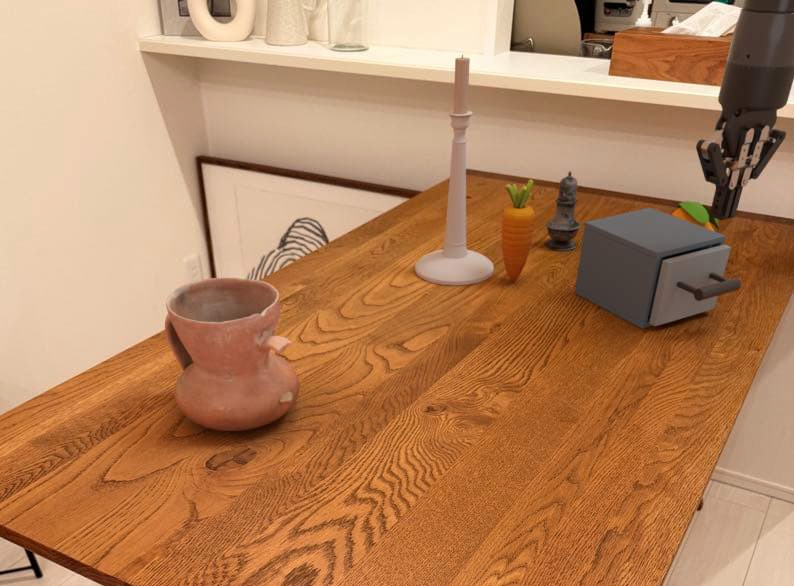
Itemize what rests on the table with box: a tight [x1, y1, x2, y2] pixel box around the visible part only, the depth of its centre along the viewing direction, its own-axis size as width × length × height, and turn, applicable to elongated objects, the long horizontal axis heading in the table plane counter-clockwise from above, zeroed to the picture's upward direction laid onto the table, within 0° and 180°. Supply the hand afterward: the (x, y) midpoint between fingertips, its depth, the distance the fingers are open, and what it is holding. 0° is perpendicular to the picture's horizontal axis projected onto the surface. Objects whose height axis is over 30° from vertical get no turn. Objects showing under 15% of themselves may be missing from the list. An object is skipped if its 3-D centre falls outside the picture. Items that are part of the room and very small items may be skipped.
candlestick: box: [414, 54, 495, 286], centre depth 115 cm, size 13×13×30 cm
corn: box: [671, 200, 720, 232], centre depth 125 cm, size 7×8×20 cm
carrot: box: [501, 179, 536, 283], centre depth 116 cm, size 5×5×15 cm
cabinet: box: [574, 207, 727, 330], centre depth 111 cm, size 15×13×11 cm
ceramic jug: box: [164, 277, 300, 432], centre depth 87 cm, size 18×14×14 cm
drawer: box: [649, 243, 742, 327], centre depth 107 cm, size 18×11×9 cm, turn 29°
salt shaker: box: [545, 170, 582, 252], centre depth 129 cm, size 6×6×12 cm
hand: (722, 217), depth 97 cm, fingers closed
